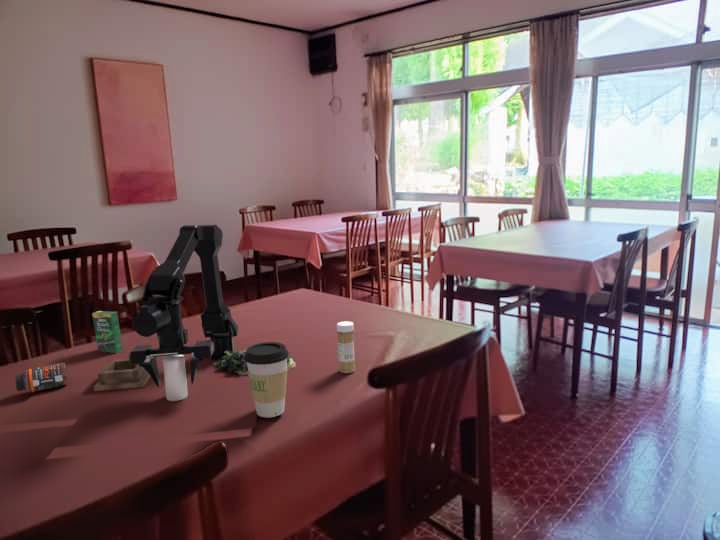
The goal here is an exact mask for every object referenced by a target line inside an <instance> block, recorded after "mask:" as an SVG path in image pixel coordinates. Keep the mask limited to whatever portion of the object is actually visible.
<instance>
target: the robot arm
mask: <svg viewBox="0 0 720 540" xmlns="http://www.w3.org/2000/svg"><path fill="white" fill-rule="evenodd" d="M222 245H223V231H222V229H221V228H220V227H219V226H218V225H217V224H192V225H189V224H188V225H183V226H181V227H180V228H179V234H178V236H177V238H176V240H175V242H174V244H173V246H172V247H171V250H170V251H169V253H168V255H167V257H166V259H165V261H163V263H162V262H161V264H159V265H157V266H155V268H153V270H152V271H151V273H150V274H149V275H148V278H147V280H146V283H145V287H144V291H143V295H142V297H141V301H140V303H141V306H139V312H138V313H136V315H134V317H133V321H132V327H133V329H134V332H136V334H138V336H140V337H144V338H149V337H151V336H153V335H155V334H156V337H157V340H158V348H157V347H156V348H153V347H152V344H141V345H140V344H139V345H135V347H133V348H132V350H131V351H130V352H129V354H128V359H129V363H130V364H138V363H139V364H138V365H139V367H143V368H144V369H145V370H146V371H147V372H148V373H149V374H150V376H151V377H150V378H151V379H152V380H153V382H154V384H155V385H156V387H158V388H160V387H161V377H160V373H159V371H160V370H159V368H158V357H166V356H169V355H192V356H191V359H190V362H189V363H190V364H189V365H190V366H189V367H190V369H189V370H190V382H191V385H194V384H195V379H196V375H197V370H198V367H199V364H200V363H201V362H204V360H205V359H209V358H210V360H217V359H218V360H219V359H221V358H222V357H224V356H225V355H226V354H225V353H224V352H225V351H228V352H229V353H233V352H234V351H235V352H236V349H235V345H234V337H238V333H239V325H238V324H237V323H236V321H235V320H234V319H233V317H232V312H231V310H230V307H228V306H227V305H226V304H225V302H224V297H223V289H222V280H221V273H220V265H219V256H218V254H219V252H220V250H221V248H222ZM194 252H195V254H196V255H197V256H198V257H199V262H200V268H201V275H202V277H201V278H202V284H203V290H204V291H203V292H204V299H205V308H204V310H203V312H202V313H201V314H200V319H201V328H202V332H203V335H204V338H210V339H205V340H196V342H195V344H194V345H186V344H187V343H188V342H189V337H188V331H189V330H188V329H186V328H184V323H183V319H182V317H183V315H182V308H181V302H182V301H184V297H183V296H181V294H182V292H183V290H184V287H185V283H186V278H185V274H184V273H185V271H186V268H187V266H188V263H189V261H190V260H191V258H192V255H193V254H194ZM230 351H231V352H230Z"/></svg>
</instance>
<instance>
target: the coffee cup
mask: <svg viewBox="0 0 720 540" xmlns="http://www.w3.org/2000/svg"><path fill="white" fill-rule="evenodd" d="M289 355H290V352H289V350H288V349H287V347H286V345H285V344H284V343H281V342H278V341H277V342H276V341H266V342H260V343H255V344H253V345H251V346H248V347H247V349H246V354H245V357H244V360H245V361H246V362H247V366H248V375H247V376H248V379H249V384H250V389H251V394H252V399H253V402H254V405H255V406H254V407H255V410H256V415H258V416H259V417H262V418H274V417H277V416H281V415H282V414H283V413H284V412H285V406H286V405H285V404H286V403H285V402H286V395H287V376H288V371H287V358H288V356H289Z"/></svg>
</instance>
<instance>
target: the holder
mask: <svg viewBox="0 0 720 540" xmlns="http://www.w3.org/2000/svg"><path fill="white" fill-rule="evenodd" d="M138 364H139V363H138ZM138 364H130V363H129V358H122V359H121V358H120V359H110V361H108V362H107V364H105V366H103V368H102V369H101V370H100V371H99V372H98V373H97V377H98V378H97V379H98V382H96V384H94V385H93V390H94V392H101V391H110V390H111V391H113V390H123V389H126V390H127V389H133V388H144V387H146V384H147V383H148V381H149V380H150V378H152V377H151V376H150V374H149V373H148V372H147V371H146V370H145V369H144V368H143V367H139V365H138Z"/></svg>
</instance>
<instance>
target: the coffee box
mask: <svg viewBox="0 0 720 540" xmlns="http://www.w3.org/2000/svg"><path fill="white" fill-rule="evenodd" d="M91 314H92V320H93V328H94V332H95V338H96V345H97V351H98V352H101V351H103V353H107V352H110V353H109V354H114V353H117V354H119V353H121V352H123V351H122V350H124V349H123V344H122V343H123V342H122V336H121V330H120V328H121V327H120V323H119V315H118V311H107V310H106V311H104V310H97V311H95V312H92V313H91ZM120 351H121V352H120ZM118 352H119V353H118Z"/></svg>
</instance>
